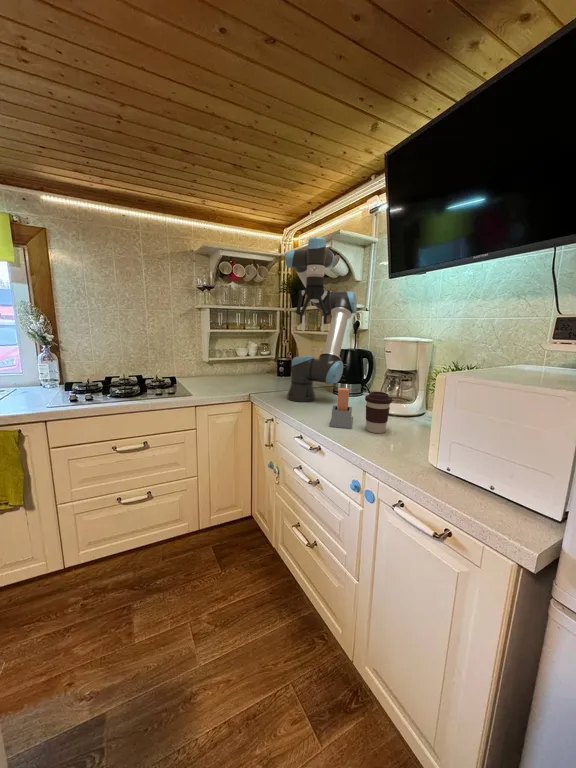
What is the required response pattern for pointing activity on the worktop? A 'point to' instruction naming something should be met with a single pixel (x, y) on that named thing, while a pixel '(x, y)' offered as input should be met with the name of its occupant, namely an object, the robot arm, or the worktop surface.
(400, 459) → the worktop surface
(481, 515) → the worktop surface
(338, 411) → the grey holder stand
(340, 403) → the orange rectangular bar
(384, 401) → the coffee cup
